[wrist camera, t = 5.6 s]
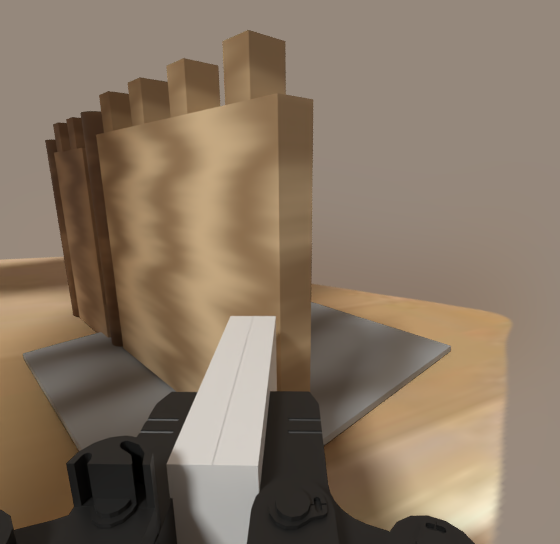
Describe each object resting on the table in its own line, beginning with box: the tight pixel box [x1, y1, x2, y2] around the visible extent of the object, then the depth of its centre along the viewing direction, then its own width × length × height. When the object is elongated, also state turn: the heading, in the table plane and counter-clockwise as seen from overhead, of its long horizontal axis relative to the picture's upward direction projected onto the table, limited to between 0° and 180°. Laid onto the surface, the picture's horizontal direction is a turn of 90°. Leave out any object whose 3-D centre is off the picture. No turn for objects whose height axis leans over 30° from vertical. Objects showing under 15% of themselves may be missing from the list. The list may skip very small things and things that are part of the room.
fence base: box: [23, 111, 451, 451], centre depth 27 cm, size 28×22×16 cm
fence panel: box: [96, 30, 313, 392], centre depth 19 cm, size 16×2×16 cm, turn 43°
